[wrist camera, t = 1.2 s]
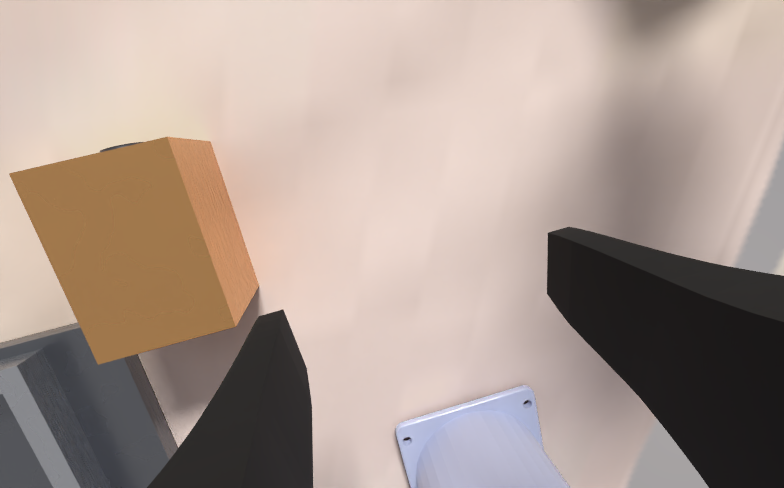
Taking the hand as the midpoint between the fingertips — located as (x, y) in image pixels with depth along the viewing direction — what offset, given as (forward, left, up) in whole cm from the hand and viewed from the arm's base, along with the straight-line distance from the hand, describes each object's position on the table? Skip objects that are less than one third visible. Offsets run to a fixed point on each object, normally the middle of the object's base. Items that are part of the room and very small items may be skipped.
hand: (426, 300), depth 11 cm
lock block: (+2, +9, -10) cm, 14 cm away
